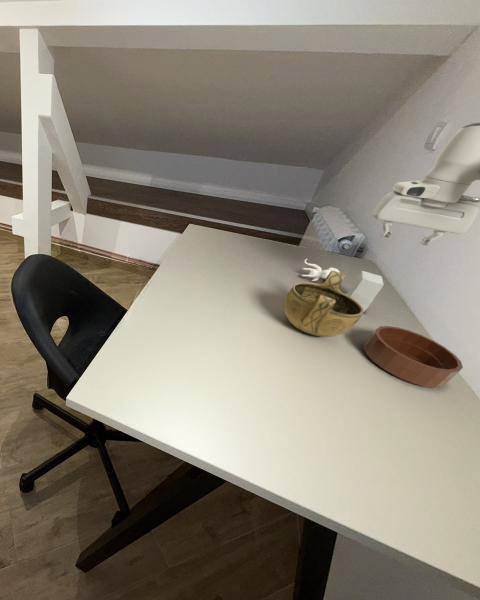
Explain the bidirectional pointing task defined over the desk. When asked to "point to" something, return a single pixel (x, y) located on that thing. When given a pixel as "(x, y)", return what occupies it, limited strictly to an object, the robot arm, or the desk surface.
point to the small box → (365, 288)
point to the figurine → (317, 272)
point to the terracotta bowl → (412, 356)
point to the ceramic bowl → (322, 307)
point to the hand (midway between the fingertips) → (403, 240)
